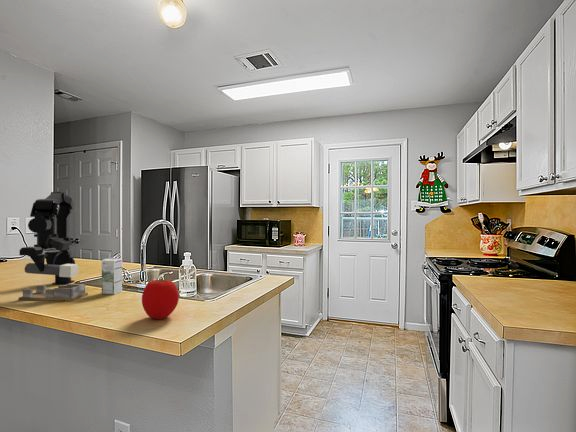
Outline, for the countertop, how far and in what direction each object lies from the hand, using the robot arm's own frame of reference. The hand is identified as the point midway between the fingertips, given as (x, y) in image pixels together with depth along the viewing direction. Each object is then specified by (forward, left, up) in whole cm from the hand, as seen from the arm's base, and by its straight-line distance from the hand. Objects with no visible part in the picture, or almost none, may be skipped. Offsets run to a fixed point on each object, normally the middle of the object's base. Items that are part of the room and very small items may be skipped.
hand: (45, 270), depth 127 cm
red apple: (+22, +55, -11) cm, 60 cm away
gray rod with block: (0, +2, -2) cm, 3 cm away
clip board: (0, +4, -11) cm, 11 cm away
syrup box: (-8, +22, -11) cm, 26 cm away
